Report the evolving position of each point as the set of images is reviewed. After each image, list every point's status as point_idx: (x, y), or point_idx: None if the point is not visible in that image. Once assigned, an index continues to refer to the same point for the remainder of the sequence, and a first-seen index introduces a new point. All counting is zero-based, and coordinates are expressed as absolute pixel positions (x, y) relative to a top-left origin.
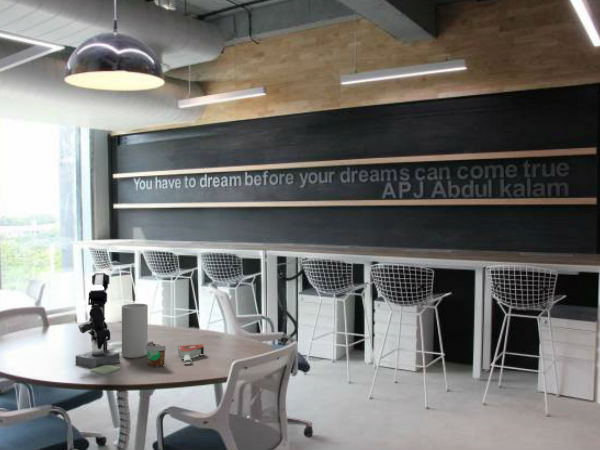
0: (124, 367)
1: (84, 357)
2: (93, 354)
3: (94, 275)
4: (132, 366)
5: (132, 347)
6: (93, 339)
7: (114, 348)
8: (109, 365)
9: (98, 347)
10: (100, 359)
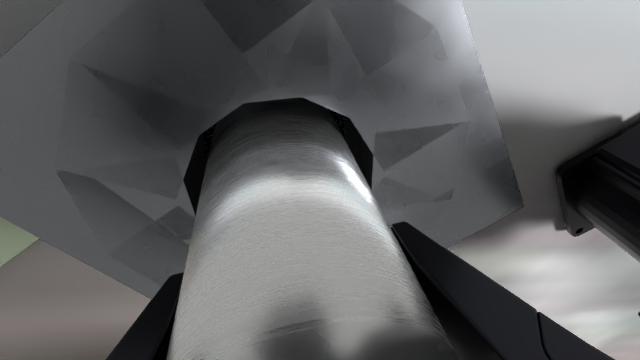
0: (27, 319)
1: None
2: (231, 140)
3: None
4: (57, 354)
5: None
6: (490, 350)
7: (614, 255)
8: (34, 239)
9: (149, 306)
10: (8, 206)
